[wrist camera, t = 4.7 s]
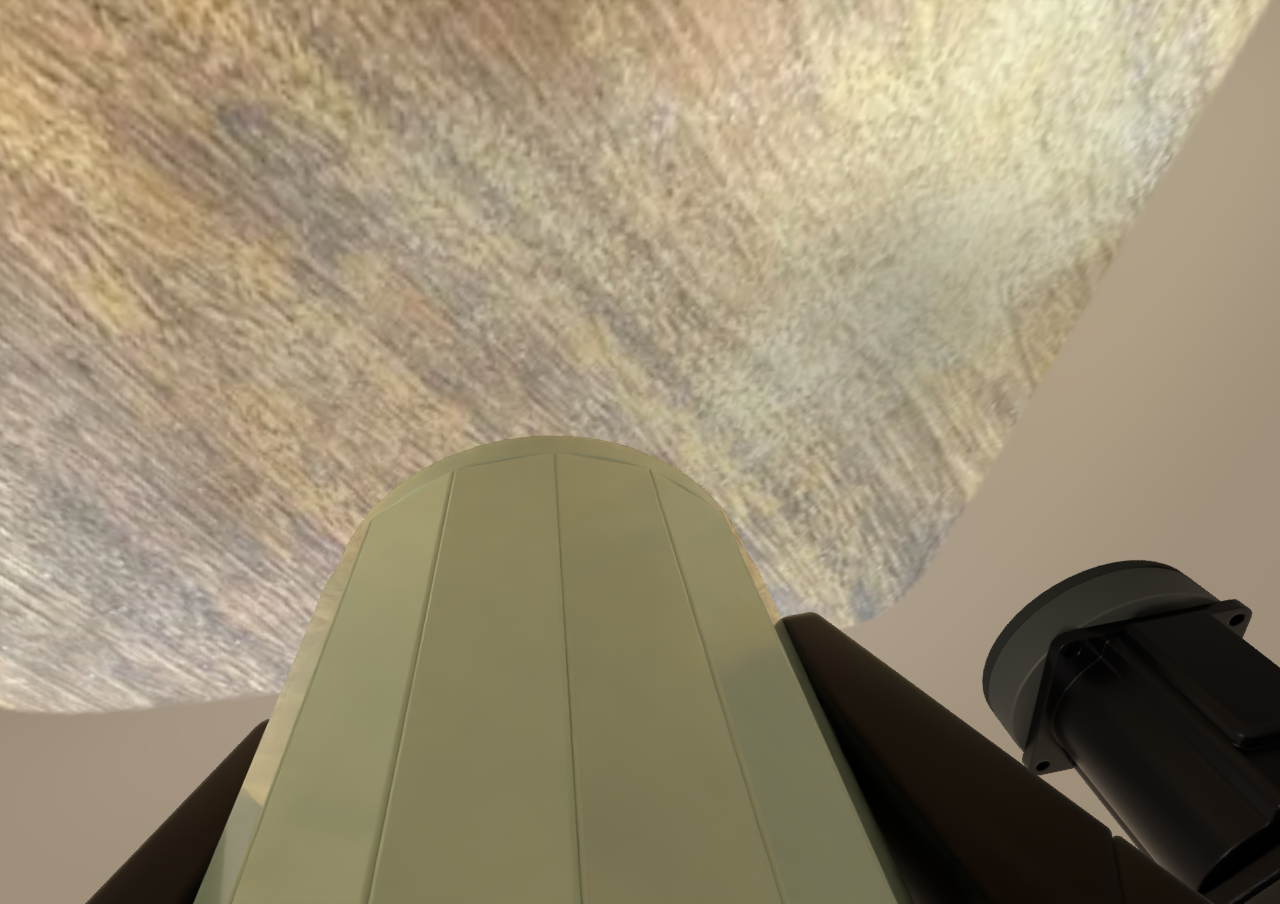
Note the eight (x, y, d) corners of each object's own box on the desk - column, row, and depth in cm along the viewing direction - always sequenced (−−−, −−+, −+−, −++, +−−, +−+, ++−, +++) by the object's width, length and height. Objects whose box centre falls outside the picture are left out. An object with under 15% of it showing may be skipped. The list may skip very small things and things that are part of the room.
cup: (758, 714, 10) (1089, 1635, 4) (405, 786, 10) (203, 1903, 4) (738, 396, 8) (1530, 1580, 2) (262, 479, 7) (-1021, 2357, 1)
